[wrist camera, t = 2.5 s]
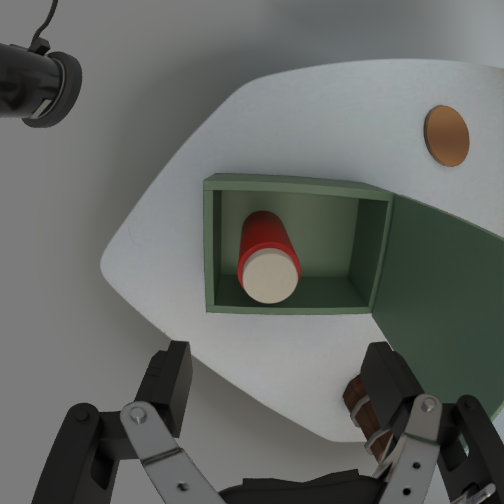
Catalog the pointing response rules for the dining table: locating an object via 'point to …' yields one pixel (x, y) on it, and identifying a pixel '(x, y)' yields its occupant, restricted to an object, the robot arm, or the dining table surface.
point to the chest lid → (445, 303)
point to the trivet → (446, 136)
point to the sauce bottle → (267, 259)
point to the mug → (366, 418)
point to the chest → (299, 241)
